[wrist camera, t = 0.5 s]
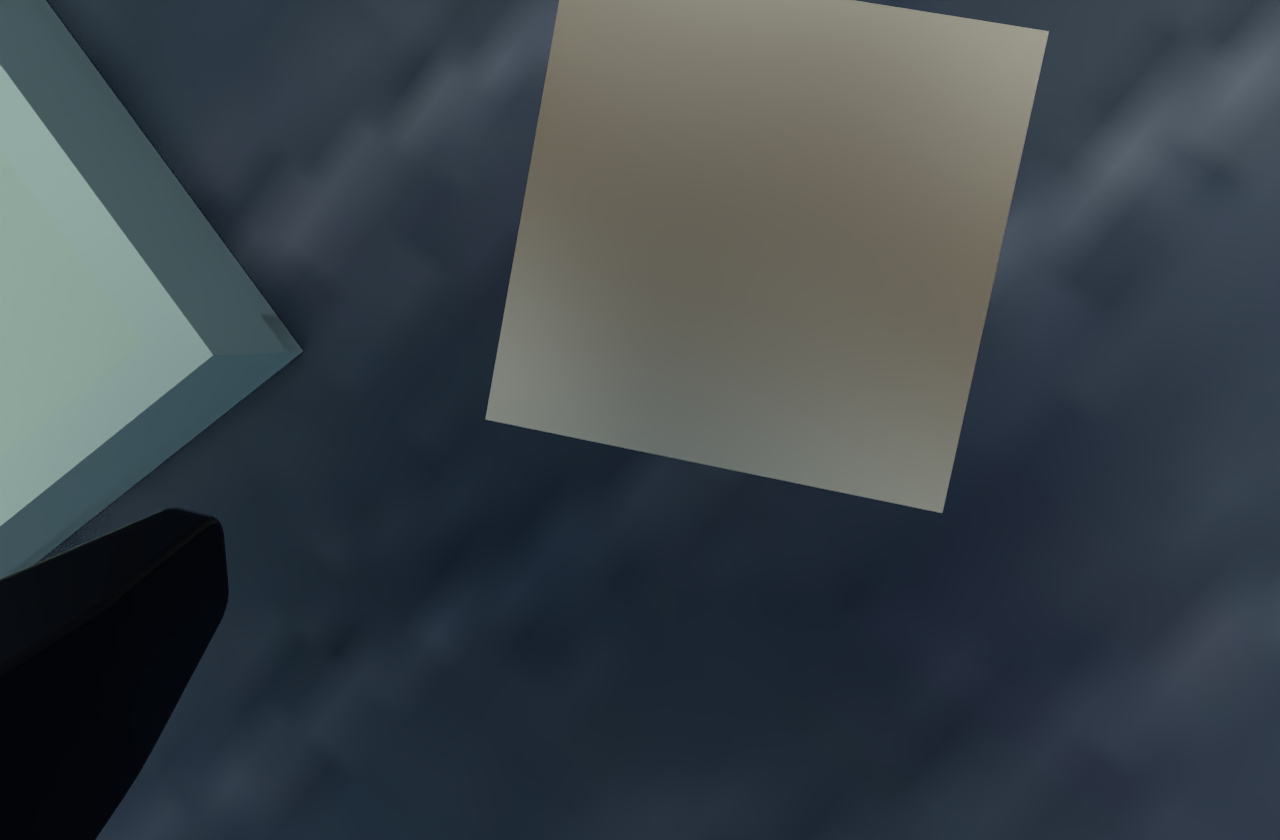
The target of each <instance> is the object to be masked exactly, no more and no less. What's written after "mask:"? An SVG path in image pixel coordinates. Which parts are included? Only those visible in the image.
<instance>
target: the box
mask: <svg viewBox="0 0 1280 840" xmlns="http://www.w3.org/2000/svg"><path fill="white" fill-rule="evenodd" d="M302 352H303V350H302V349H301V347H300V346H299V345H298V343H297V342H296V341H295V339H294V338H293V336H292V335H291V334H290V332H289V331H288V330H287V328H286V327H285V326H284V324H283V323H282V321H281V320H280V319H279V317H278V316H277V315H276V313H275V312H274V311H273V309H272V308H271V306H270V305H269V304H268V302H267V301H266V300H265V298H264V297H263V296H262V294H261V293H260V291H259V290H258V289H257V287H256V286H255V285H254V283H253V282H252V281H251V279H250V278H249V276H248V275H247V274H246V272H245V271H244V270H243V268H242V267H241V266H240V264H239V263H238V261H237V260H236V259H235V257H234V256H233V255H232V253H231V252H230V251H229V249H228V248H227V246H226V245H225V244H224V242H223V241H222V240H221V238H220V237H219V236H218V234H217V233H216V231H215V230H214V229H213V227H212V226H211V225H210V223H209V222H208V221H207V219H206V218H205V216H204V215H203V214H202V212H201V211H200V210H199V208H198V207H197V206H196V204H195V203H194V202H193V200H192V199H191V197H190V196H189V195H188V193H187V192H186V191H185V189H184V188H183V187H182V185H181V184H180V182H179V181H178V180H177V178H176V177H175V176H174V174H173V173H172V172H171V170H170V169H169V167H168V166H167V165H166V163H165V162H164V161H163V159H162V158H161V157H160V155H159V154H158V152H157V151H156V150H155V148H154V147H153V146H152V144H151V143H150V142H149V140H148V139H147V137H146V136H145V135H144V133H143V132H142V131H141V129H140V128H139V127H138V125H137V124H136V122H135V121H134V120H133V118H132V117H131V116H130V114H129V113H128V112H127V110H126V109H125V107H124V106H123V105H122V103H121V102H120V101H119V99H118V98H117V97H116V95H115V94H114V92H113V91H112V90H111V88H110V87H109V86H108V84H107V83H106V82H105V80H104V79H103V77H102V76H101V75H100V73H99V72H98V71H97V69H96V68H95V67H94V65H93V64H92V62H91V61H90V60H89V58H88V57H87V56H86V54H85V53H84V52H83V50H82V49H81V47H80V46H79V45H78V43H77V42H76V41H75V39H74V38H73V37H72V35H71V34H70V32H69V31H68V30H67V28H66V27H65V26H64V24H63V23H62V22H61V20H60V19H59V17H58V16H57V15H56V13H55V12H54V11H53V9H52V8H51V7H50V5H49V4H48V2H47V1H46V0H0V579H1V578H4V577H6V576H8V575H11V574H13V573H16V572H18V571H20V570H23V569H25V568H27V567H30V566H32V565H34V564H35V563H37V562H38V561H39V560H40V559H42V558H43V557H44V556H45V555H47V554H48V553H49V552H51V551H52V550H53V549H54V548H56V547H57V546H58V545H59V544H61V543H62V542H63V541H64V540H66V539H67V538H68V537H69V536H71V535H72V534H73V533H75V532H76V531H77V530H78V529H80V528H81V527H82V526H83V525H85V524H86V523H87V522H88V521H90V520H91V519H92V518H93V517H95V516H96V515H97V514H99V513H100V512H101V511H102V510H104V509H105V508H106V507H107V506H109V505H110V504H111V503H112V502H114V501H115V500H116V499H117V498H119V497H120V496H121V495H122V494H124V493H125V492H126V491H128V490H129V489H130V488H131V487H133V486H134V485H135V484H136V483H138V482H139V481H140V480H141V479H143V478H144V477H145V476H146V475H148V474H149V473H150V472H152V471H153V470H154V469H155V468H157V467H158V466H159V465H160V464H162V463H163V462H164V461H165V460H167V459H168V458H169V457H170V456H172V455H173V454H174V453H176V452H177V451H178V450H179V449H181V448H182V447H183V446H184V445H186V444H187V443H188V442H189V441H191V440H192V439H193V438H194V437H196V436H197V435H198V434H199V433H201V432H202V431H203V430H205V429H206V428H207V427H208V426H210V425H211V424H212V423H213V422H215V421H216V420H217V419H218V418H220V417H221V416H222V415H223V414H225V413H226V412H227V411H229V410H230V409H231V408H232V407H234V406H235V405H236V404H237V403H239V402H240V401H241V400H242V399H244V398H245V397H246V396H247V395H249V394H250V393H251V392H253V391H254V390H255V389H256V388H258V387H259V386H260V385H261V384H263V383H264V382H265V381H266V380H268V379H269V378H270V377H271V376H273V375H274V374H275V373H277V372H278V371H279V370H280V369H282V368H283V367H284V366H285V365H287V364H288V363H289V362H290V361H292V360H293V359H294V358H295V357H297V356H298V355H299V354H300V353H302Z"/></svg>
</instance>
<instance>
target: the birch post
mask: <svg viewBox="0 0 1280 840" xmlns="http://www.w3.org/2000/svg"><path fill="white" fill-rule="evenodd" d="M1048 33H1049V31H1043V30H1037V29H1031V28H1025V27H1018V26H1012V25H1006V24H999V23H993V22H987V21H980V20H974V19H968V18H962V17H955V16H949V15H943V14H936V13H930V12H924V11H917V10H911V9H905V8H899V7H892V6H886V5H880V4H873V3H867V2H861V1H855V0H559V5H558V11H557V16H556V22H555V28H554V33H553V39H552V45H551V50H550V56H549V62H548V67H547V73H546V79H545V84H544V90H543V96H542V101H541V107H540V113H539V118H538V124H537V130H536V135H535V141H534V147H533V152H532V158H531V164H530V169H529V175H528V181H527V186H526V192H525V197H524V203H523V209H522V214H521V220H520V226H519V231H518V237H517V243H516V248H515V254H514V260H513V265H512V271H511V277H510V282H509V288H508V294H507V299H506V305H505V311H504V316H503V322H502V328H501V333H500V339H499V345H498V350H497V356H496V362H495V367H494V373H493V379H492V384H491V390H490V396H489V401H488V407H487V413H486V418H485V420H490V421H495V422H500V423H505V424H510V425H515V426H519V427H524V428H529V429H534V430H539V431H544V432H549V433H554V434H559V435H563V436H568V437H573V438H578V439H583V440H588V441H593V442H598V443H602V444H607V445H612V446H617V447H622V448H627V449H632V450H637V451H641V452H646V453H651V454H656V455H661V456H666V457H671V458H676V459H680V460H685V461H690V462H695V463H700V464H705V465H710V466H715V467H719V468H724V469H729V470H734V471H739V472H744V473H749V474H754V475H758V476H763V477H768V478H773V479H778V480H783V481H788V482H793V483H797V484H802V485H807V486H812V487H817V488H822V489H827V490H832V491H837V492H841V493H846V494H851V495H856V496H861V497H866V498H871V499H876V500H880V501H885V502H890V503H895V504H900V505H905V506H910V507H915V508H919V509H924V510H929V511H934V512H939V513H943V508H944V504H945V499H946V495H947V490H948V486H949V481H950V477H951V472H952V467H953V463H954V458H955V454H956V449H957V445H958V440H959V436H960V431H961V427H962V422H963V418H964V413H965V409H966V404H967V400H968V395H969V391H970V386H971V382H972V377H973V372H974V368H975V363H976V359H977V354H978V350H979V345H980V341H981V336H982V332H983V327H984V323H985V318H986V314H987V309H988V305H989V300H990V296H991V291H992V287H993V282H994V278H995V273H996V268H997V264H998V259H999V255H1000V250H1001V246H1002V241H1003V237H1004V232H1005V228H1006V223H1007V219H1008V214H1009V210H1010V205H1011V201H1012V196H1013V192H1014V187H1015V183H1016V178H1017V173H1018V169H1019V164H1020V160H1021V155H1022V151H1023V146H1024V142H1025V137H1026V133H1027V128H1028V124H1029V119H1030V115H1031V110H1032V106H1033V101H1034V97H1035V92H1036V88H1037V83H1038V78H1039V74H1040V69H1041V65H1042V60H1043V56H1044V51H1045V47H1046V42H1047V38H1048Z"/></svg>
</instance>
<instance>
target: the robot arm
mask: <svg viewBox="0 0 1280 840" xmlns="http://www.w3.org/2000/svg"><path fill="white" fill-rule="evenodd" d="M228 594H229V587H228V576H227V565H226V553H225V542H224V533H223V528H222V526H221V524H220V522H219V521H218V519H216V518H214V517H213V516H210V515H206V514H202V513H198V512H194V511H190V510H185V509H181V508H168V509H165V510H162V511H159V512H157V513H154V514H152V515H150V516H147V517H145V518H143V519H140V520H138V521H135V522H133V523H131V524H128V525H126V526H124V527H121V528H119V529H117V530H114V531H112V532H110V533H107V534H105V535H103V536H100V537H98V538H96V539H93V540H91V541H88V542H86V543H84V544H81V545H79V546H77V547H74V548H72V549H70V550H67V551H65V552H63V553H60V554H58V555H56V556H53V557H51V558H48V559H46V560H44V561H41V562H39V563H37V564H34V565H32V566H30V567H27V568H25V569H23V570H20V571H18V572H16V573H13V574H11V575H8V576H6V577H4V578H1V579H0V840H95V839H96V838H97V836H98V835H99V833H100V832H101V830H102V829H103V827H104V826H105V824H106V823H107V821H108V820H109V818H110V817H111V816H112V814H113V813H114V811H115V810H116V808H117V807H118V805H119V804H120V802H121V801H122V799H123V798H124V796H125V795H126V793H127V792H128V790H129V788H130V787H131V785H132V784H133V782H134V781H135V779H136V778H137V776H138V774H139V773H140V771H141V769H142V768H143V766H144V764H145V762H146V760H147V759H148V757H149V755H150V753H151V752H152V750H153V748H154V746H155V744H156V742H157V741H158V739H159V737H160V735H161V733H162V731H163V729H164V727H165V725H166V724H167V722H168V720H169V718H170V716H171V714H172V712H173V710H174V709H175V707H176V705H177V703H178V701H179V699H180V697H181V695H182V693H183V692H184V690H185V688H186V686H187V684H188V682H189V680H190V678H191V676H192V675H193V673H194V671H195V669H196V667H197V665H198V663H199V661H200V659H201V658H202V656H203V654H204V652H205V650H206V648H207V646H208V644H209V642H210V641H211V639H212V637H213V635H214V633H215V631H216V629H217V627H218V625H219V624H220V622H221V620H222V617H223V615H224V612H225V610H226V606H227V602H228Z"/></svg>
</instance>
